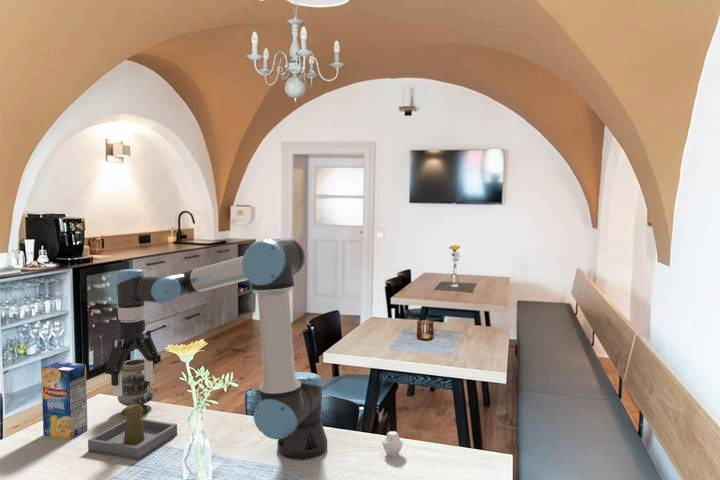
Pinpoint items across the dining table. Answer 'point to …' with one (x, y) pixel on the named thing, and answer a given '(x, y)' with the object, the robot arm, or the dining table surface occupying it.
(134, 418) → the olive pawn figure
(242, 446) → the dining table surface
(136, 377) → the stone urn vase
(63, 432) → the beverage box
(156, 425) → the box
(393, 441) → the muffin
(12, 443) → the dining table surface
